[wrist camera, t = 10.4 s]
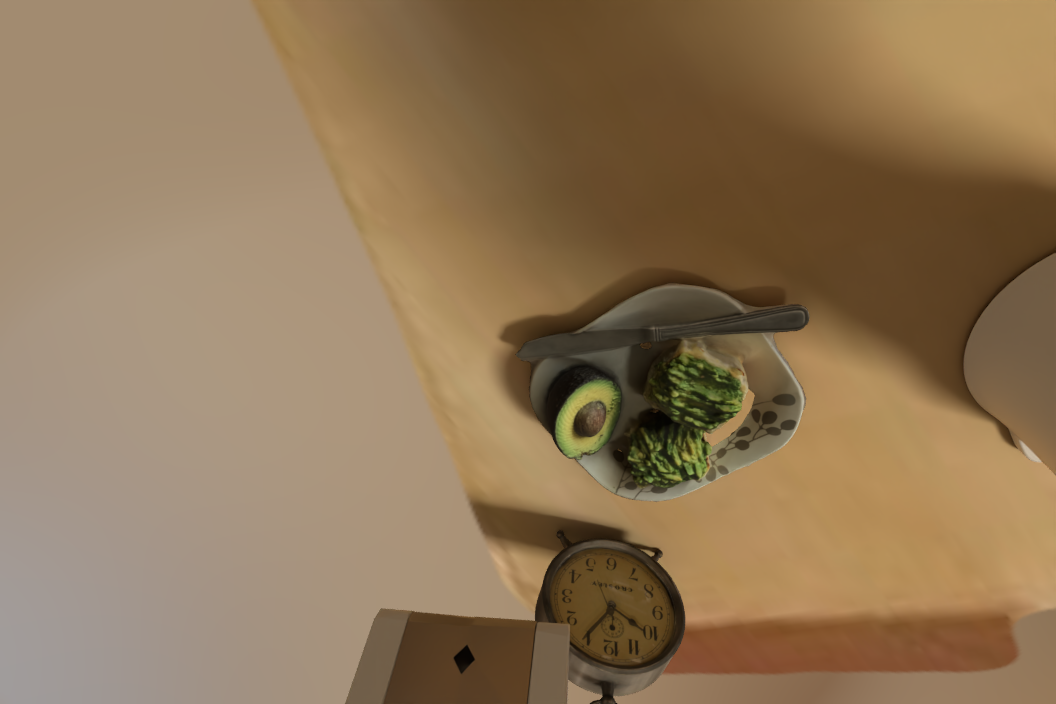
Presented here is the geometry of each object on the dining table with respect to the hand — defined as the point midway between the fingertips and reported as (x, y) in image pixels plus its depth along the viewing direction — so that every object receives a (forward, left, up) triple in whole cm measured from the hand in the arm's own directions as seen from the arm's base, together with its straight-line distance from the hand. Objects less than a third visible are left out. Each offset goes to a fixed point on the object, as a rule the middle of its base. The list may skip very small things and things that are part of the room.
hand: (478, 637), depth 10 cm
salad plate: (-6, +18, -32) cm, 37 cm away
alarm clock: (-3, +35, -31) cm, 47 cm away
